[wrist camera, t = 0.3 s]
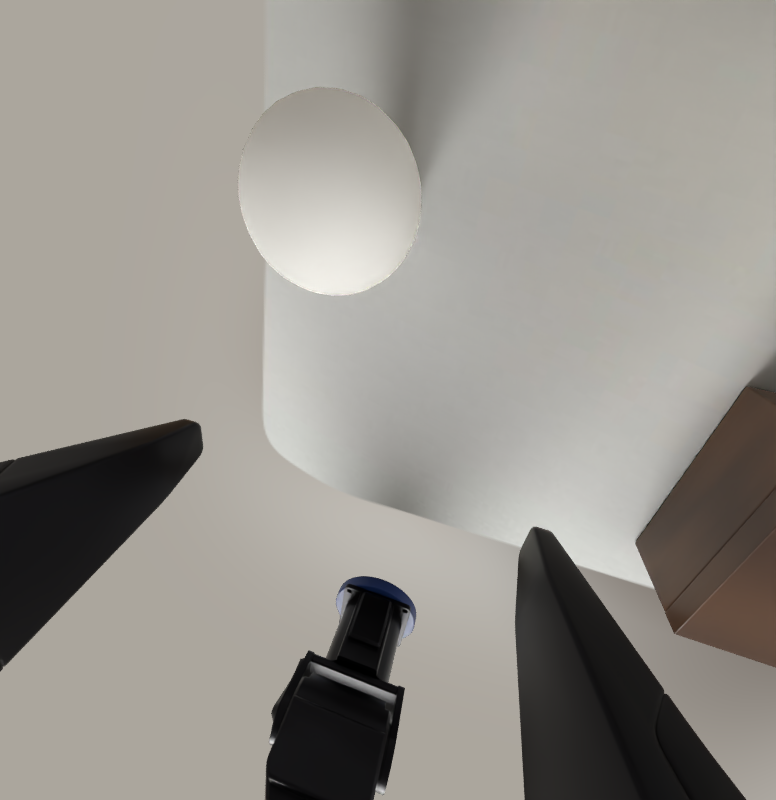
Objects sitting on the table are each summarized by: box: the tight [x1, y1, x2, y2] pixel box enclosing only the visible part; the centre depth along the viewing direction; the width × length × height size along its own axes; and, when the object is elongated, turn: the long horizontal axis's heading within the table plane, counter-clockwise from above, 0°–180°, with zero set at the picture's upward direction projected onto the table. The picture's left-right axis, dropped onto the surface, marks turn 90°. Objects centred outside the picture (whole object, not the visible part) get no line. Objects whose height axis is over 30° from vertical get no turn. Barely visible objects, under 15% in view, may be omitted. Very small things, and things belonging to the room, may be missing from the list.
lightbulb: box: [238, 87, 422, 296], centre depth 15 cm, size 6×6×11 cm
